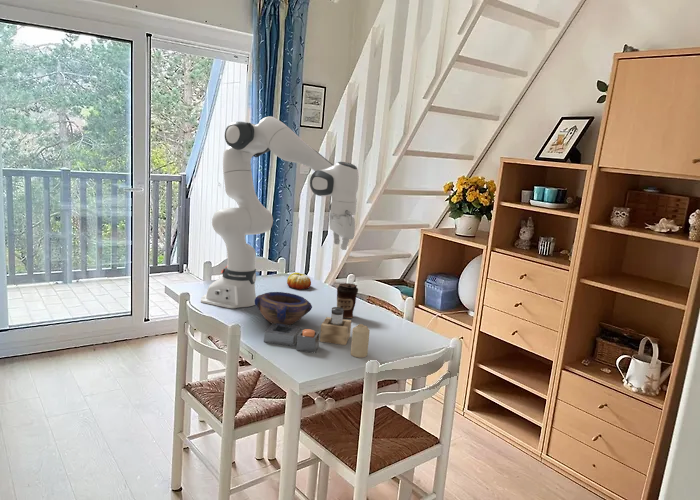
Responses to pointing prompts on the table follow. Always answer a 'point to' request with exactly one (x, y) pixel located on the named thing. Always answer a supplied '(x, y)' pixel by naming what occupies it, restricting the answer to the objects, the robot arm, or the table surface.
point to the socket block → (282, 334)
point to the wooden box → (335, 332)
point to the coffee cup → (347, 298)
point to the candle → (360, 341)
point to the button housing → (307, 342)
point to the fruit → (299, 281)
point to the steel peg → (337, 316)
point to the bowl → (282, 307)
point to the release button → (308, 333)
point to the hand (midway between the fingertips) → (339, 246)
